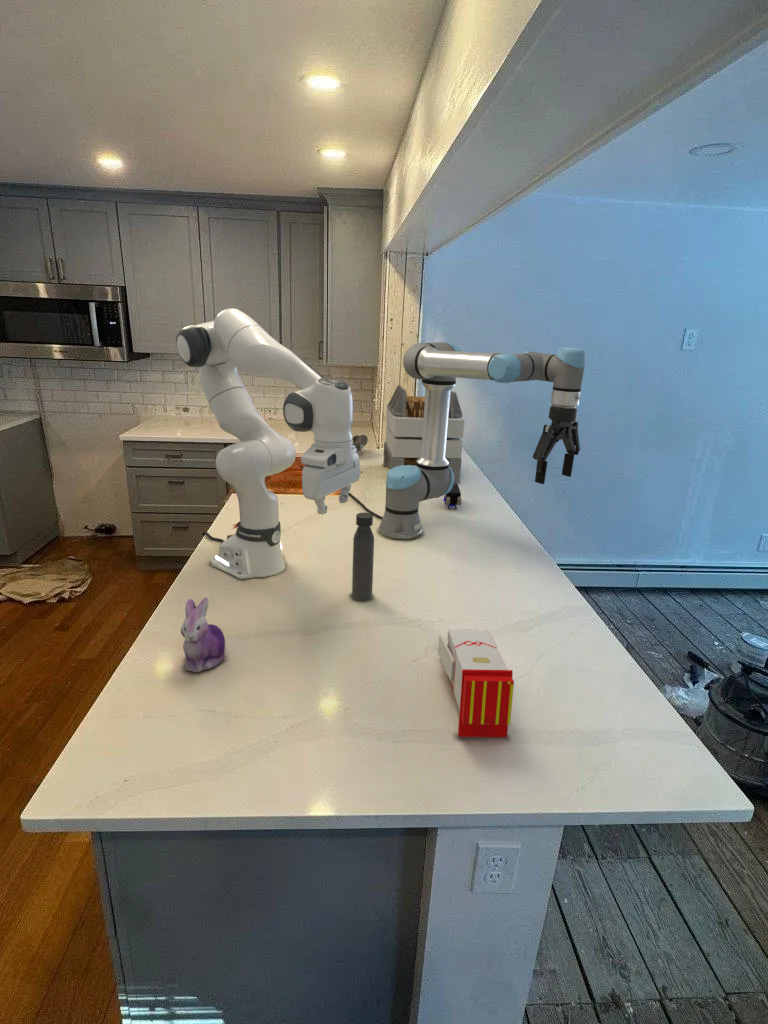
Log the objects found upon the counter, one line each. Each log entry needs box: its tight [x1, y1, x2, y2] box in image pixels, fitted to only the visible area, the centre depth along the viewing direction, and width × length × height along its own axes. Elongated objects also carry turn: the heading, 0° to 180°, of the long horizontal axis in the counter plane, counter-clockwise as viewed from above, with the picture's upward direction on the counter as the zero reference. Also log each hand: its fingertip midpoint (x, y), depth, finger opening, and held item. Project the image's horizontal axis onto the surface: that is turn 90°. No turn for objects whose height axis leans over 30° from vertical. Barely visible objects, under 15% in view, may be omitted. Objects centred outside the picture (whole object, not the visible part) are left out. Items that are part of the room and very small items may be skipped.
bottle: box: [351, 526, 375, 602], centre depth 152 cm, size 6×6×23 cm
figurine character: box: [442, 483, 462, 510], centre depth 230 cm, size 7×8×15 cm
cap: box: [355, 512, 374, 527], centre depth 148 cm, size 4×4×2 cm
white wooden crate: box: [383, 384, 465, 484], centre depth 268 cm, size 34×33×41 cm
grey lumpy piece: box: [353, 434, 369, 455], centre depth 304 cm, size 22×10×15 cm
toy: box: [437, 628, 515, 738], centre depth 117 cm, size 12×13×30 cm
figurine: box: [180, 597, 226, 673], centre depth 122 cm, size 9×10×15 cm
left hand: (333, 507), depth 135 cm, fingers open, 8 cm apart
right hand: (553, 479), depth 165 cm, fingers open, 13 cm apart
